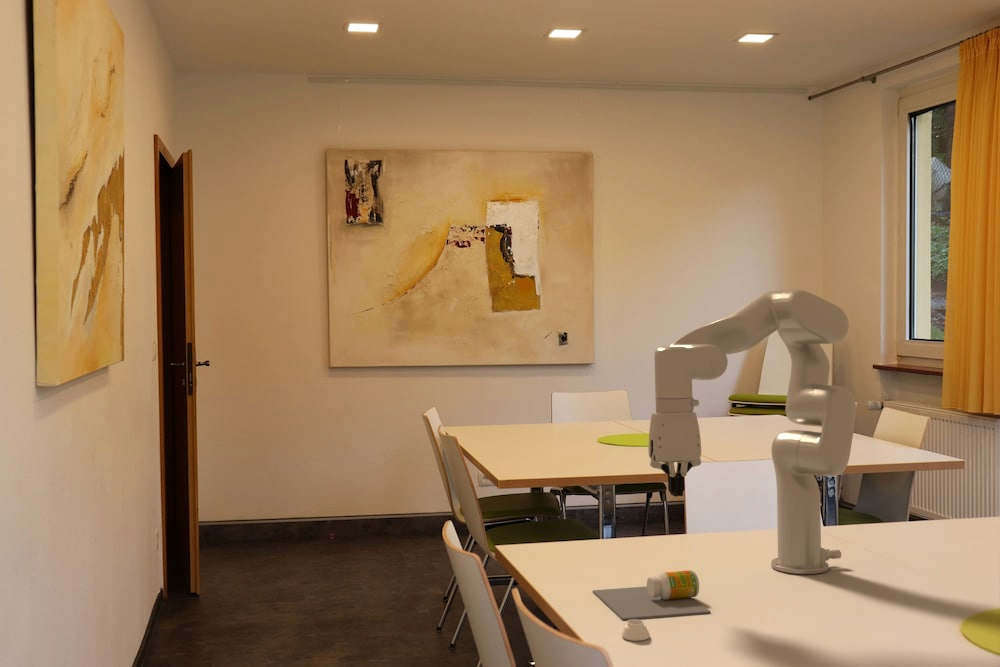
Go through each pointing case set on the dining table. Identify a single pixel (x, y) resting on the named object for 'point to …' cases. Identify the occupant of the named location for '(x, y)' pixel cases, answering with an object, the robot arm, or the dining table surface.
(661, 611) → the felt mat
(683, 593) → the supplement bottle
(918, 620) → the dining table surface
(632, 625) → the lidless jar
